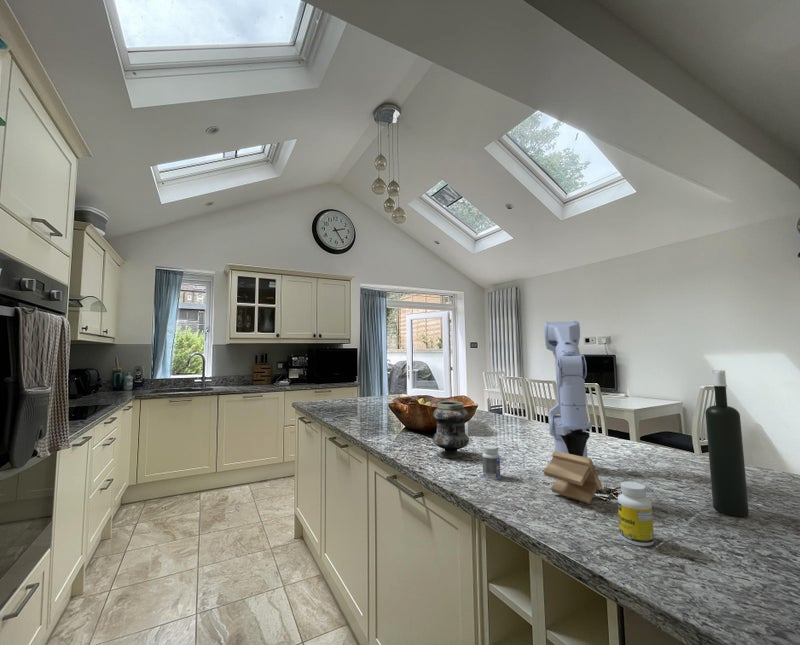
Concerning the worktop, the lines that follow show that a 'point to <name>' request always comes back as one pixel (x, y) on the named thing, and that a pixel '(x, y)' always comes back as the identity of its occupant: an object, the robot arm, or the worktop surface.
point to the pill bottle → (491, 462)
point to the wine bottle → (726, 453)
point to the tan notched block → (573, 476)
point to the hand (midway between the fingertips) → (576, 462)
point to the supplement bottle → (635, 514)
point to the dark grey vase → (450, 429)
